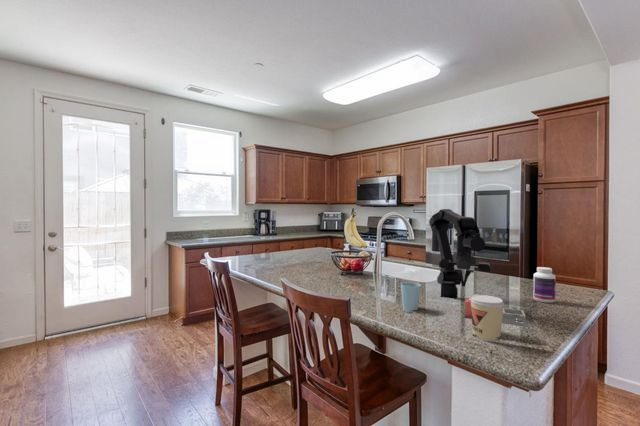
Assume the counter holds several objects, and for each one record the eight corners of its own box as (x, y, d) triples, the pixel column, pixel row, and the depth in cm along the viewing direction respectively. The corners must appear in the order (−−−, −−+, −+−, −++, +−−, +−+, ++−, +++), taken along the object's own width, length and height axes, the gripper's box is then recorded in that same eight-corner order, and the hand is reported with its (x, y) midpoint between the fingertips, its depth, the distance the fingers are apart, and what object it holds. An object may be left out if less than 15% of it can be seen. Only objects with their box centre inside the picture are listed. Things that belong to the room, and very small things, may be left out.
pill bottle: (559, 304, 138) (559, 270, 137) (537, 302, 139) (538, 269, 139) (549, 298, 146) (550, 266, 145) (529, 297, 147) (530, 266, 147)
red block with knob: (465, 315, 119) (465, 299, 119) (465, 312, 122) (465, 296, 122) (477, 317, 117) (477, 301, 117) (477, 313, 121) (477, 298, 120)
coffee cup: (464, 331, 107) (464, 294, 106) (491, 330, 107) (491, 294, 107) (480, 343, 97) (481, 303, 97) (510, 342, 98) (510, 302, 98)
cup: (413, 307, 132) (413, 281, 132) (424, 313, 125) (425, 286, 124) (396, 308, 130) (397, 282, 129) (407, 314, 122) (407, 287, 122)
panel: (463, 320, 116) (463, 314, 116) (464, 305, 134) (464, 300, 134) (529, 330, 108) (529, 324, 108) (521, 313, 126) (521, 307, 126)
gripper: (438, 248, 129) (437, 288, 129) (491, 252, 121) (490, 294, 121) (440, 245, 139) (440, 282, 139) (490, 248, 131) (489, 287, 131)
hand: (463, 286), depth 133 cm, fingers closed
